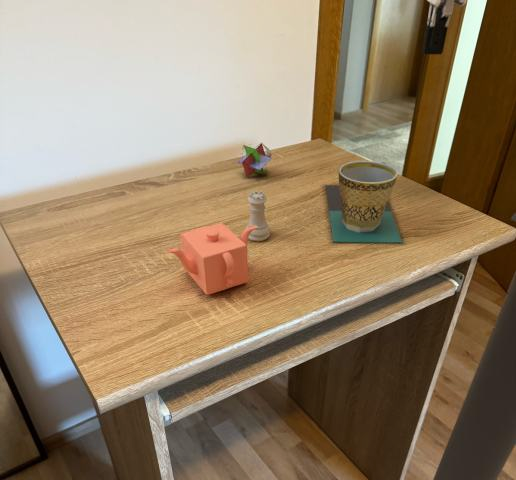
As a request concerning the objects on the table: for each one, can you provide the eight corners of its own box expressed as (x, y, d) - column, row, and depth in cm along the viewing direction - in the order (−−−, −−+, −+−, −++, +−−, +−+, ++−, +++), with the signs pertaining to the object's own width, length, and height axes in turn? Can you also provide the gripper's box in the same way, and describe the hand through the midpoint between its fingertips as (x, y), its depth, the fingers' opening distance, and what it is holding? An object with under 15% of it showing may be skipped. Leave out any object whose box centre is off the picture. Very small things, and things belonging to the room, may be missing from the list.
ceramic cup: (374, 242, 85) (383, 187, 79) (324, 227, 90) (328, 174, 83) (402, 214, 93) (412, 162, 87) (355, 202, 98) (361, 151, 91)
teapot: (158, 274, 79) (150, 227, 73) (240, 250, 84) (238, 204, 79) (187, 312, 71) (181, 263, 66) (275, 283, 77) (276, 235, 71)
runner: (382, 186, 103) (382, 185, 103) (402, 243, 85) (402, 242, 85) (325, 186, 104) (325, 185, 104) (333, 242, 86) (333, 241, 86)
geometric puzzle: (248, 176, 103) (264, 139, 101) (226, 167, 107) (241, 132, 105) (267, 187, 109) (282, 153, 107) (245, 179, 112) (259, 145, 111)
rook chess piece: (270, 230, 90) (270, 188, 84) (270, 242, 86) (270, 199, 81) (246, 230, 90) (244, 188, 84) (245, 242, 86) (243, 199, 81)
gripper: (500, -88, 67) (465, 62, 79) (470, -87, 78) (443, 44, 91) (445, -87, 68) (418, 63, 80) (423, -86, 79) (402, 45, 91)
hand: (431, 53), depth 85 cm, fingers closed
